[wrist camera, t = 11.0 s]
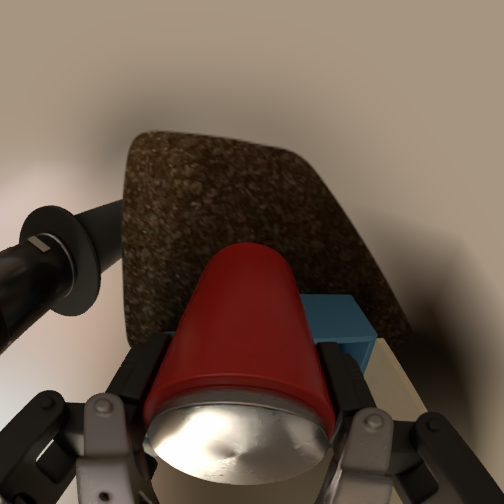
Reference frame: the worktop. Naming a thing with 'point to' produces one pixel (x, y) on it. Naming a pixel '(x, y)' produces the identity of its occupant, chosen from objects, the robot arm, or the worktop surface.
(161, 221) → the worktop surface
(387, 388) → the lid
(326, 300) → the cool box
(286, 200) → the worktop surface
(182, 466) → the can
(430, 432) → the robot arm
